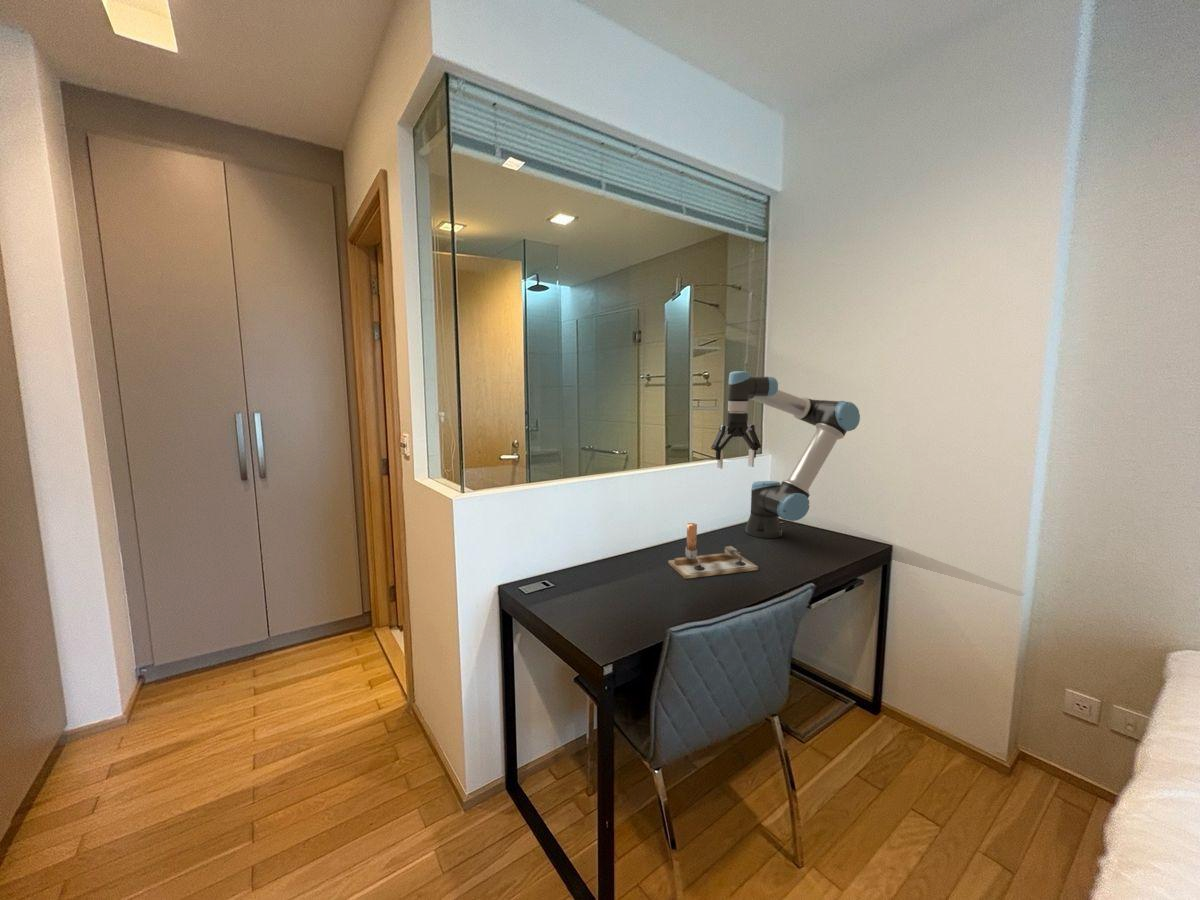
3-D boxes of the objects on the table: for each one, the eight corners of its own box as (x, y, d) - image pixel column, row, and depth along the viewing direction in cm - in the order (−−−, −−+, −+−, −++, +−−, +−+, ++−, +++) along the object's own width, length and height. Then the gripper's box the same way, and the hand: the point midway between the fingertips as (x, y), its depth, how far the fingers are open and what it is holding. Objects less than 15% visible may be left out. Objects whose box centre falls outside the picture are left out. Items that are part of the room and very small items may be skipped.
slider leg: (692, 557, 173) (693, 522, 171) (704, 567, 165) (705, 529, 163) (684, 558, 172) (685, 523, 170) (695, 568, 164) (696, 530, 162)
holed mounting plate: (736, 556, 181) (736, 543, 180) (758, 569, 167) (758, 556, 167) (668, 563, 173) (668, 550, 172) (685, 578, 160) (685, 564, 159)
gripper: (760, 411, 188) (757, 464, 191) (703, 412, 182) (701, 467, 185) (772, 412, 181) (769, 467, 184) (713, 413, 174) (711, 470, 178)
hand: (735, 467), depth 184 cm, fingers open, 13 cm apart
